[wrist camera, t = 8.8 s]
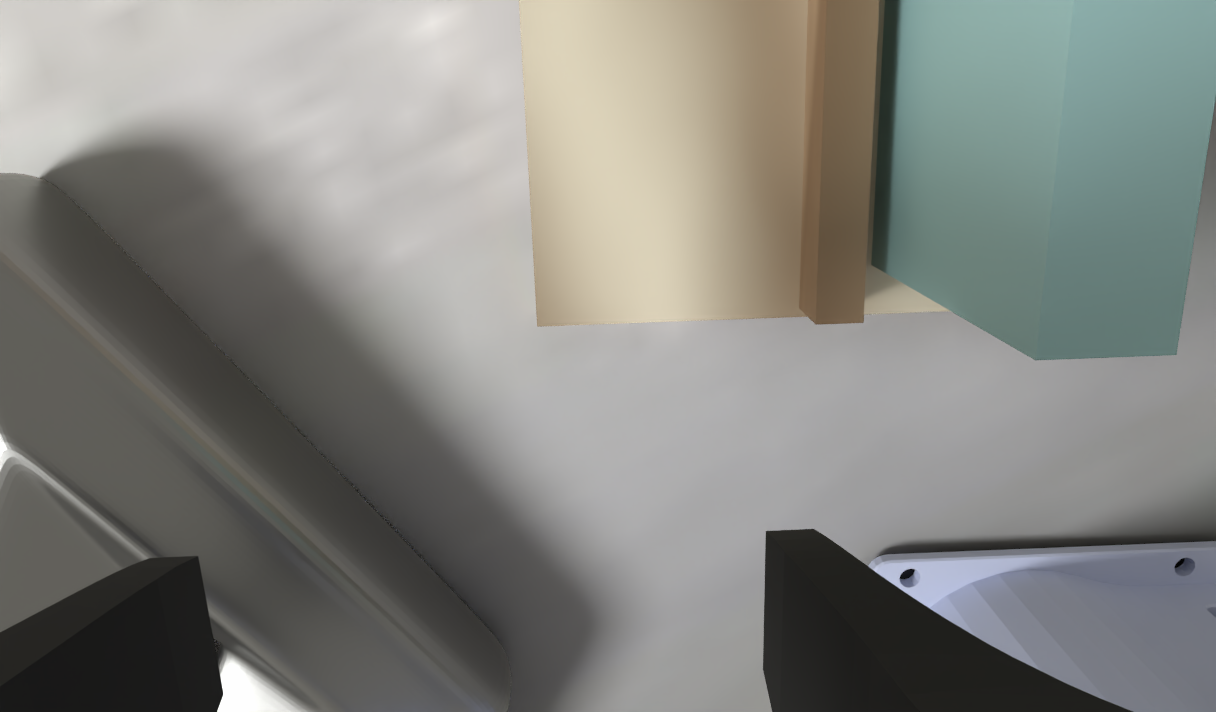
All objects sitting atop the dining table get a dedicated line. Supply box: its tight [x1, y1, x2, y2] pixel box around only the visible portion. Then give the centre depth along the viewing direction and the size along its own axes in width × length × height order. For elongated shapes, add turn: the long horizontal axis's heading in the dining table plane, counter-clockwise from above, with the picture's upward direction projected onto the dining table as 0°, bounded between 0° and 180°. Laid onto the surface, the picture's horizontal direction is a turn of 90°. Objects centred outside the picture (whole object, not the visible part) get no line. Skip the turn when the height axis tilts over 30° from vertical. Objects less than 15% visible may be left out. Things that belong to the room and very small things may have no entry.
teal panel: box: [871, 0, 1216, 360], centre depth 15 cm, size 2×8×8 cm, turn 2°
